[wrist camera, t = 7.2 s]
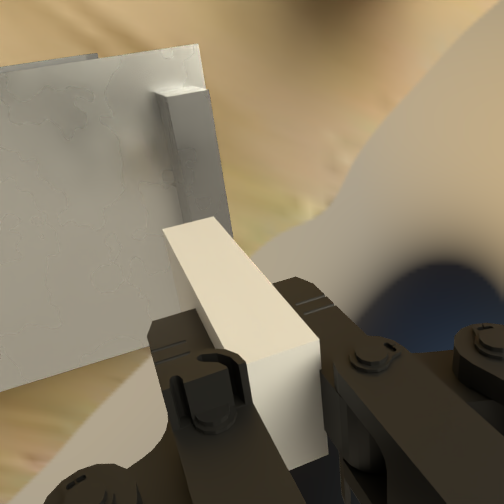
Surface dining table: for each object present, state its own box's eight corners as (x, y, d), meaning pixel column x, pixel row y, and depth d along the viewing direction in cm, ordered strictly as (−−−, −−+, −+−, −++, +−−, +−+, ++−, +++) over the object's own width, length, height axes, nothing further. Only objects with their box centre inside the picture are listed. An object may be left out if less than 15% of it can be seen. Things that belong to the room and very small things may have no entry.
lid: (-151, 95, 16) (-197, 103, 13) (194, 43, 19) (215, 41, 16) (-12, 387, 21) (-25, 436, 18) (240, 311, 24) (261, 343, 21)
